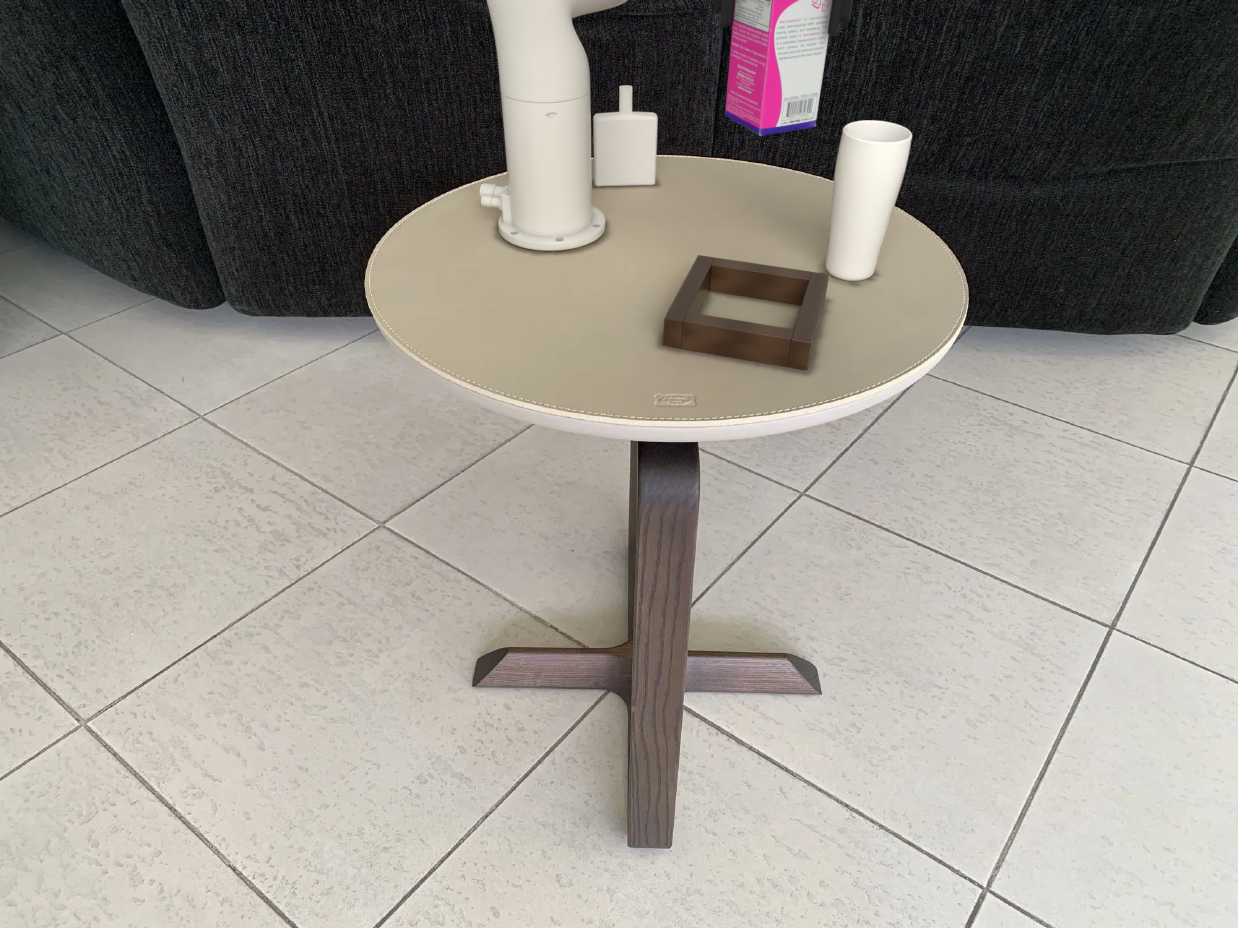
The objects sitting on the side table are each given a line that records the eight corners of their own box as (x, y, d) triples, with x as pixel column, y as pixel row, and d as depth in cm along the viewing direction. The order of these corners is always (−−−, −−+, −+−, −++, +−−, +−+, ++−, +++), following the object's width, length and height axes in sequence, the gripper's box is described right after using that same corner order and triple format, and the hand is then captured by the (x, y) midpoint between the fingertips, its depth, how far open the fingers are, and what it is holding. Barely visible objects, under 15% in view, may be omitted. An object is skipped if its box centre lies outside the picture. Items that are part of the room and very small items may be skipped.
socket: (662, 345, 79) (663, 318, 77) (696, 280, 89) (698, 254, 87) (806, 370, 76) (811, 342, 74) (824, 300, 86) (829, 274, 84)
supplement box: (777, 107, 74) (797, -41, 67) (816, 128, 70) (843, -27, 63) (721, 115, 72) (736, -37, 65) (758, 137, 68) (779, -22, 61)
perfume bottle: (654, 179, 110) (657, 83, 102) (656, 185, 109) (659, 88, 101) (593, 181, 110) (592, 85, 102) (594, 187, 108) (593, 89, 100)
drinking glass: (835, 252, 94) (861, 115, 85) (891, 270, 91) (925, 129, 81) (806, 273, 90) (829, 132, 81) (863, 293, 87) (894, 148, 77)
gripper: (951, -262, 56) (894, 25, 67) (698, -262, 60) (685, 10, 71) (950, -265, 50) (889, 49, 62) (672, -265, 54) (662, 30, 66)
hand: (780, 27), depth 66 cm, fingers closed on supplement box, 8 cm apart
